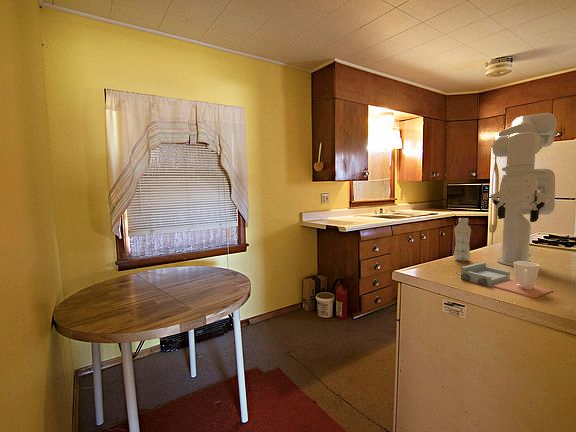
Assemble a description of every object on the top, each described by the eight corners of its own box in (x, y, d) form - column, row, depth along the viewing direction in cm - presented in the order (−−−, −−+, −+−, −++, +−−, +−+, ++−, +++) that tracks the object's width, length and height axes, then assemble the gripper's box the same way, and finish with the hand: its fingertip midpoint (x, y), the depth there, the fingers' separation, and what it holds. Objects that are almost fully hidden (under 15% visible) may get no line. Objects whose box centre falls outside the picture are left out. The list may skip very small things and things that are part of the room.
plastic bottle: (470, 263, 133) (472, 219, 131) (452, 262, 137) (454, 218, 134) (470, 260, 138) (472, 217, 136) (453, 258, 142) (455, 217, 140)
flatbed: (482, 274, 118) (483, 261, 118) (513, 281, 109) (513, 268, 108) (459, 280, 111) (460, 267, 111) (489, 288, 102) (490, 274, 101)
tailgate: (511, 282, 108) (511, 279, 108) (552, 292, 97) (553, 290, 97) (492, 288, 102) (492, 285, 102) (534, 300, 92) (534, 296, 92)
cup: (538, 286, 101) (540, 262, 100) (538, 294, 93) (540, 269, 92) (512, 281, 105) (513, 259, 104) (510, 290, 98) (512, 266, 97)
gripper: (486, 171, 107) (484, 218, 109) (546, 169, 92) (541, 224, 94) (498, 170, 110) (495, 216, 113) (557, 169, 95) (552, 221, 98)
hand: (516, 220), depth 103 cm, fingers open, 9 cm apart
